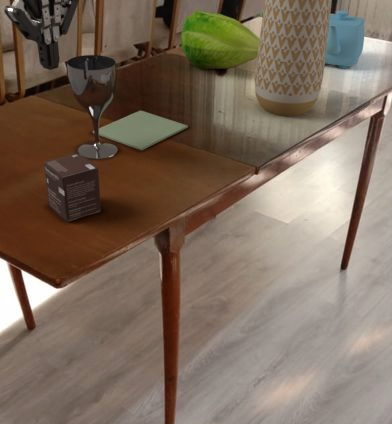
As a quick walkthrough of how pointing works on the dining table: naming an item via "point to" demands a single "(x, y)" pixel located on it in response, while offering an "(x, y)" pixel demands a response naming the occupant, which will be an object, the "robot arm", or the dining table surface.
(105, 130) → the mat
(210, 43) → the lettuce
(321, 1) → the vase
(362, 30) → the teapot
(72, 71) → the wine glass
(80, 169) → the box
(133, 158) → the dining table surface
